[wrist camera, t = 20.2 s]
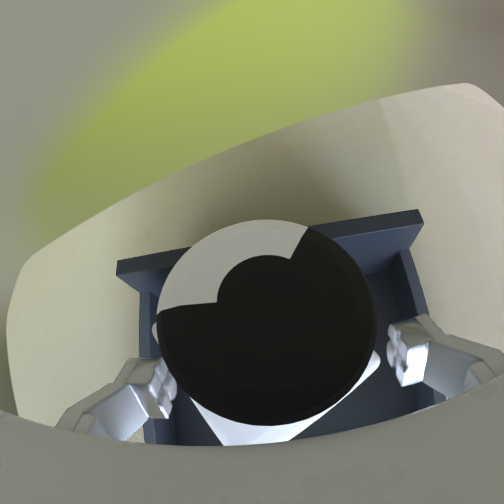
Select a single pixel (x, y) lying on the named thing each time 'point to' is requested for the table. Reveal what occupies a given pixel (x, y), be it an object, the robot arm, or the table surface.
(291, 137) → the table surface
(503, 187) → the table surface
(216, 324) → the medicine bottle
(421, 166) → the table surface
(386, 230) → the drawer
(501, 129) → the table surface
